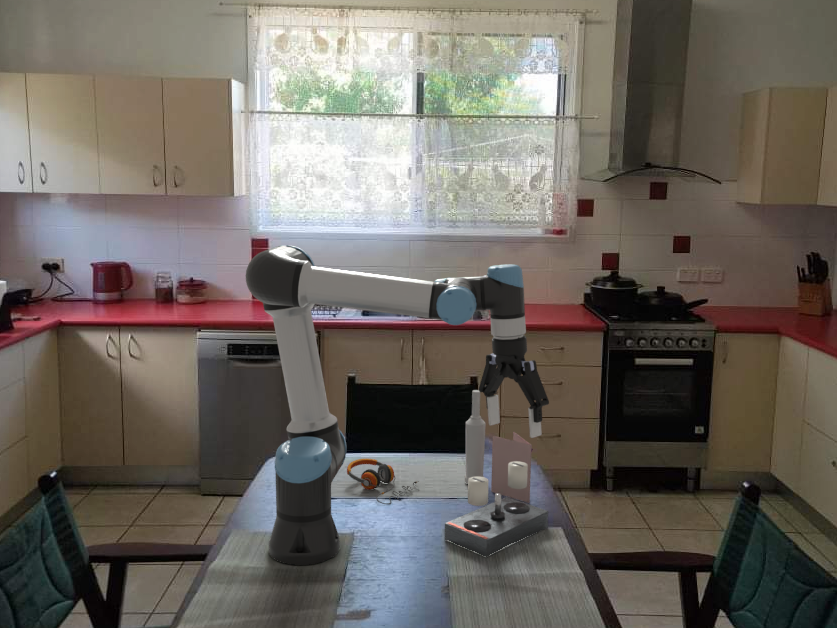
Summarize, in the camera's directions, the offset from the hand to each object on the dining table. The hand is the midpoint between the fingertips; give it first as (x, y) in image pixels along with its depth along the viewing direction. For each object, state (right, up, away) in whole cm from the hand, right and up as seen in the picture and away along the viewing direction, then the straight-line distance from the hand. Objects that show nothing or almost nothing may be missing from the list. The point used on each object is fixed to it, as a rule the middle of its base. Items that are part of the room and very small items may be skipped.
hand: (514, 430), depth 180 cm
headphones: (-31, -20, +31) cm, 48 cm away
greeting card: (+2, -21, +26) cm, 33 cm away
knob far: (+2, -14, +7) cm, 16 cm away
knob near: (-8, -15, -3) cm, 18 cm away
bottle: (-7, -19, +34) cm, 40 cm away
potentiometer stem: (-3, -20, +3) cm, 21 cm away
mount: (-4, -24, +4) cm, 25 cm away
